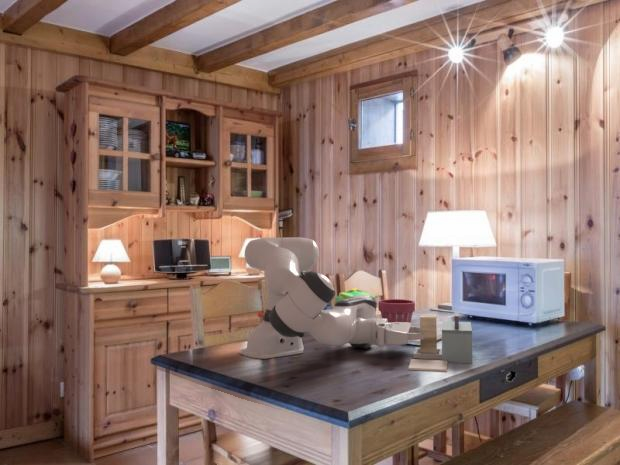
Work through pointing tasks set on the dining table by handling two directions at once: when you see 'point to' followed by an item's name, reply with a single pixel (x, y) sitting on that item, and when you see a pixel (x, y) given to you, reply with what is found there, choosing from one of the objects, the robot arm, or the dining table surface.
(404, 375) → the dining table surface
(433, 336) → the wooden block
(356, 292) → the green rounded piece
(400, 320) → the plant pot
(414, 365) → the pad
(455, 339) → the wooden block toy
